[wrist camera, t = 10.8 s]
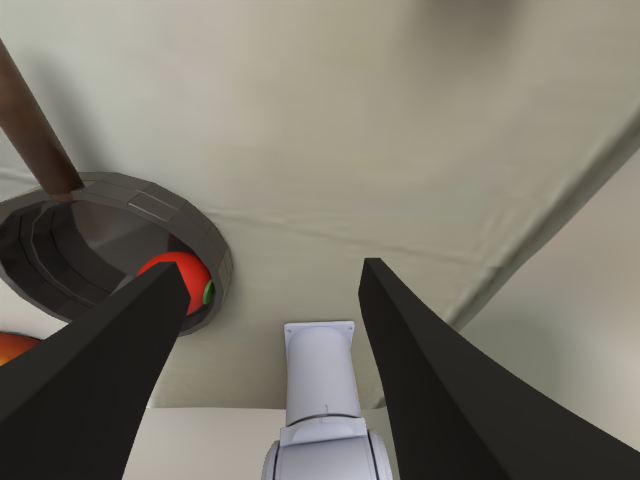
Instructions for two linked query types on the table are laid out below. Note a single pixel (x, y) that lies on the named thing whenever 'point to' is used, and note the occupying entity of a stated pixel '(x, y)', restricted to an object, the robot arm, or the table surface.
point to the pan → (103, 244)
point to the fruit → (14, 346)
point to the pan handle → (34, 134)
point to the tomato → (189, 276)
